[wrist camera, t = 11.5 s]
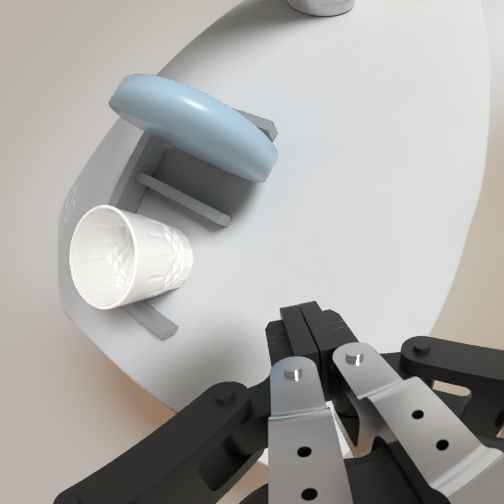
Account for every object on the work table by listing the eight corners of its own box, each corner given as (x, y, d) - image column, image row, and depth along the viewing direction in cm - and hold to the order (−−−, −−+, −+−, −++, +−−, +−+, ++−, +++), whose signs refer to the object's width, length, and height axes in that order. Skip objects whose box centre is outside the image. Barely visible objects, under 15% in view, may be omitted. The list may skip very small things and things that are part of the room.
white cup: (126, 264, 29) (59, 265, 20) (161, 206, 28) (95, 186, 19) (173, 311, 28) (108, 331, 18) (214, 250, 27) (155, 245, 17)
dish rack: (307, 145, 25) (284, 44, 11) (199, 351, 27) (107, 410, 13) (185, 102, 28) (111, 33, 15) (102, 276, 30) (5, 281, 17)
